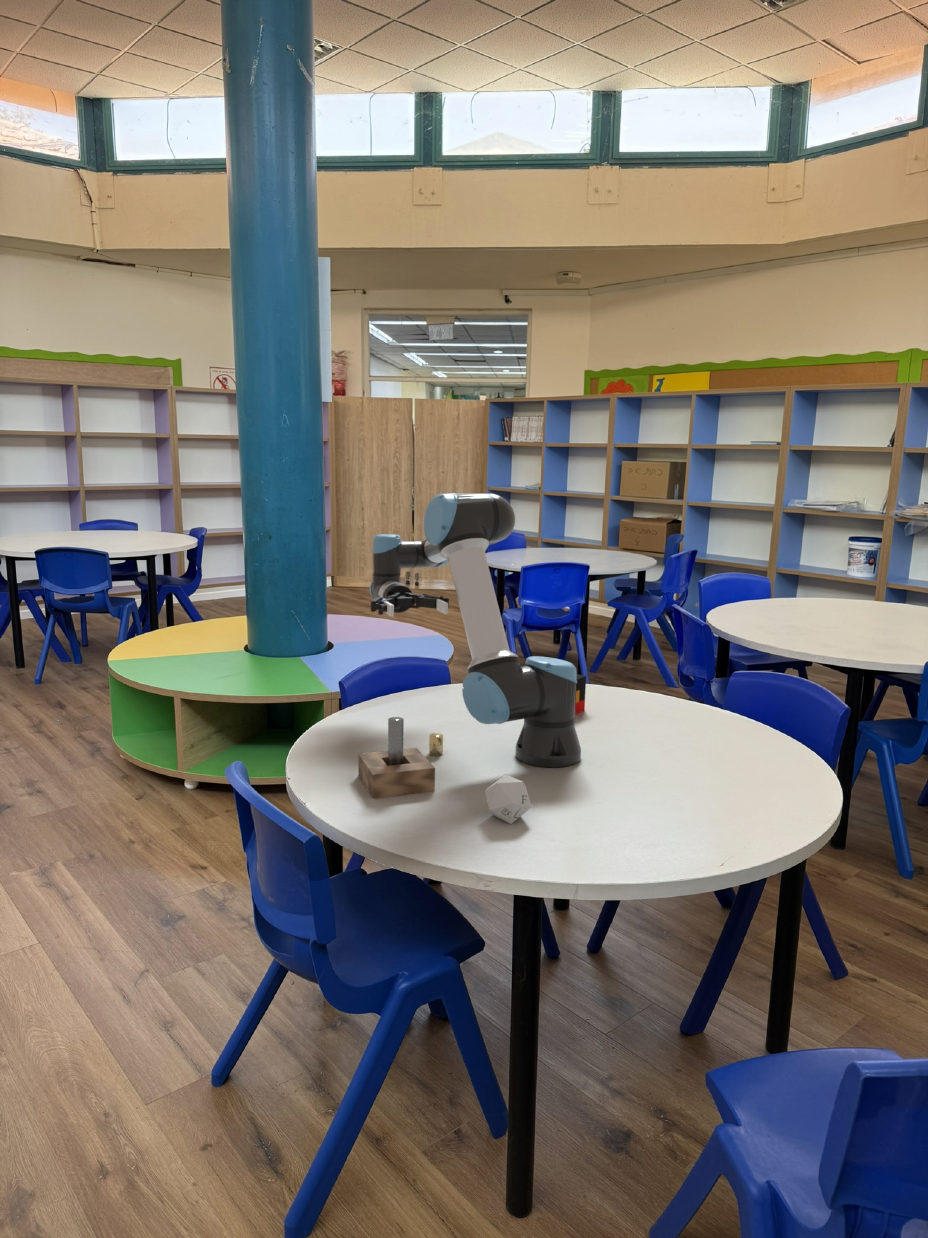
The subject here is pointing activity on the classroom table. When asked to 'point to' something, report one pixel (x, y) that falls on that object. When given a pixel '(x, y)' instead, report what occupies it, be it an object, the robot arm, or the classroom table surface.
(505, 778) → the die
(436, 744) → the short brass pin
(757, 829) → the classroom table surface
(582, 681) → the puzzle toy
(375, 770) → the hole block
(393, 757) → the long metal pin
